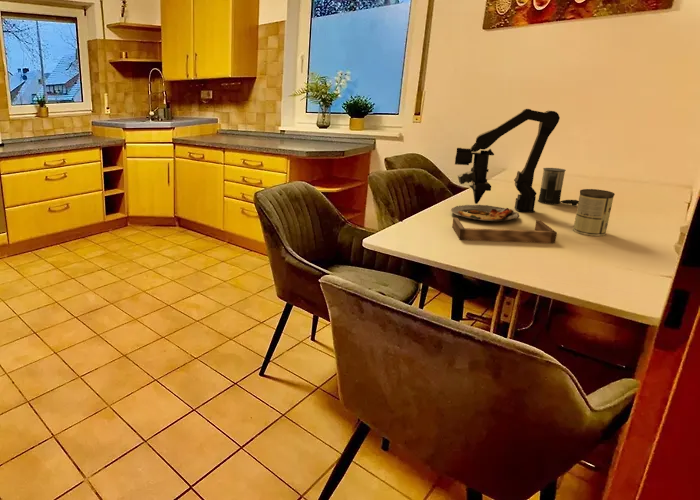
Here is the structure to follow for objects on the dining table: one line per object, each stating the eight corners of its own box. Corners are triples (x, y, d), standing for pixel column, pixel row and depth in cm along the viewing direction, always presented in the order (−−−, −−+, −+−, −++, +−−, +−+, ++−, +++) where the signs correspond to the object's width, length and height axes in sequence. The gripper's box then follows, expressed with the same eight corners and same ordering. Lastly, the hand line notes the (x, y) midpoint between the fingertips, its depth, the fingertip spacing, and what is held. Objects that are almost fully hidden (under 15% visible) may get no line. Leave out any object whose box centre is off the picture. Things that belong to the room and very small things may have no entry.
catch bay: (539, 230, 155) (540, 220, 154) (555, 243, 141) (556, 232, 140) (452, 227, 156) (453, 217, 155) (459, 239, 142) (460, 229, 141)
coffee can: (571, 226, 160) (578, 187, 156) (602, 229, 157) (611, 190, 152) (574, 234, 151) (582, 193, 146) (608, 237, 148) (617, 196, 143)
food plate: (528, 217, 171) (529, 208, 170) (501, 229, 155) (502, 219, 154) (469, 207, 188) (470, 199, 187) (439, 217, 172) (440, 208, 171)
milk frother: (535, 199, 203) (540, 166, 198) (571, 201, 201) (578, 168, 196) (543, 206, 190) (549, 171, 185) (582, 208, 188) (589, 173, 183)
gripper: (456, 162, 190) (453, 198, 195) (464, 168, 172) (460, 208, 177) (483, 162, 189) (478, 198, 194) (493, 169, 172) (488, 209, 177)
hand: (476, 203), depth 186 cm, fingers closed
